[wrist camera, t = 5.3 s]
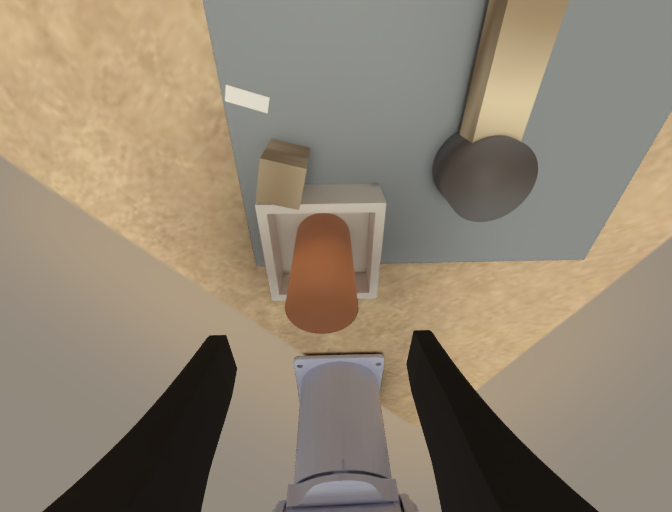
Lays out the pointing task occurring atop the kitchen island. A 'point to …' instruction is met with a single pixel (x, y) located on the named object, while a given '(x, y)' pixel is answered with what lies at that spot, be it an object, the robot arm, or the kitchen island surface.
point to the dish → (339, 199)
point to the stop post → (282, 174)
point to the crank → (499, 112)
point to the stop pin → (322, 276)
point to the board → (442, 112)
